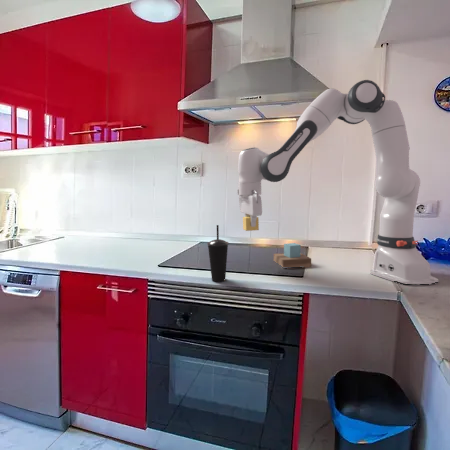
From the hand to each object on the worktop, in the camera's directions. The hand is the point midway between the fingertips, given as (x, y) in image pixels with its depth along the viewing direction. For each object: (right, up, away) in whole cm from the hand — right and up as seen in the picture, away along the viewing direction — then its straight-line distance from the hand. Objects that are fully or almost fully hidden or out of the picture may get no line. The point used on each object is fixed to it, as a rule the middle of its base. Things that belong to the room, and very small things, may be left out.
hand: (250, 225), depth 126 cm
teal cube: (+18, -13, +9) cm, 24 cm away
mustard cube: (0, -2, 0) cm, 2 cm away
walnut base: (+18, -17, +9) cm, 27 cm away
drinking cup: (-13, -20, -12) cm, 26 cm away
